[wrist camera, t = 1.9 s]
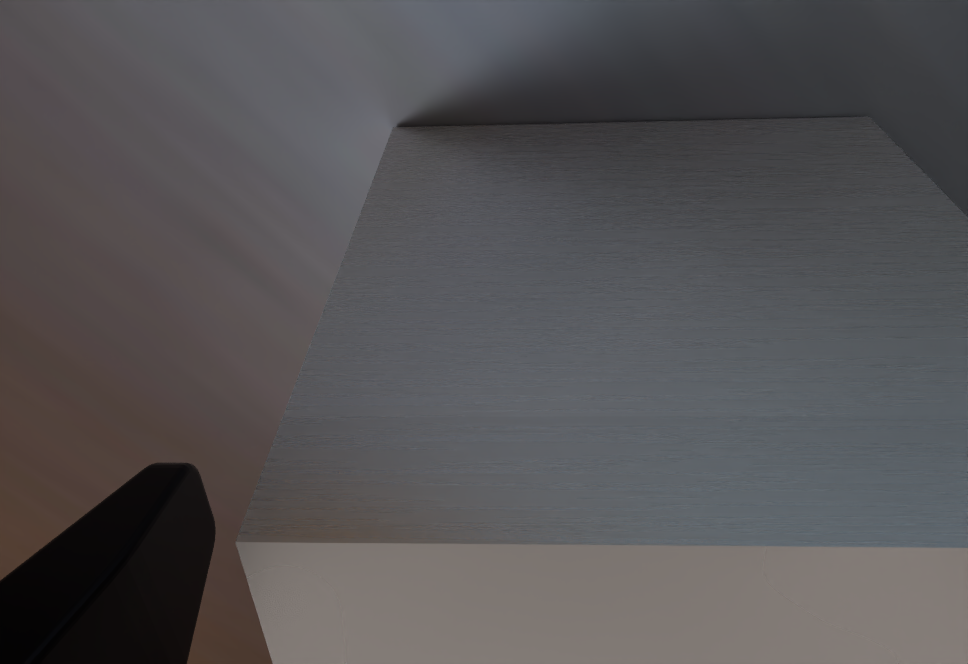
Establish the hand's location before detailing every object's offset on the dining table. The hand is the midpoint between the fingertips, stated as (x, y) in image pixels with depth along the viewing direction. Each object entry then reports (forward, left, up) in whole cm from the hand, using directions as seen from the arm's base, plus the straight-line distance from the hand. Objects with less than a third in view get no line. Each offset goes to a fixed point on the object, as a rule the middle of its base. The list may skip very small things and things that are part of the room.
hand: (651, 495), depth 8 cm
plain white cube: (0, 0, -3) cm, 3 cm away
